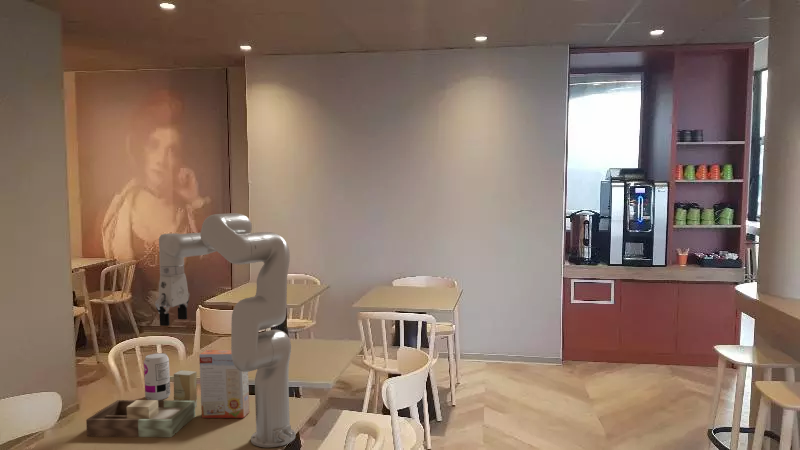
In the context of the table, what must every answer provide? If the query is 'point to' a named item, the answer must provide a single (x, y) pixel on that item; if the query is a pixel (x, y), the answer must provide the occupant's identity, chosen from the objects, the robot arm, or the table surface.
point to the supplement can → (157, 376)
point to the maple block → (142, 409)
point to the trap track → (141, 420)
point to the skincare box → (185, 386)
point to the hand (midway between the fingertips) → (173, 322)
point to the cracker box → (222, 386)
